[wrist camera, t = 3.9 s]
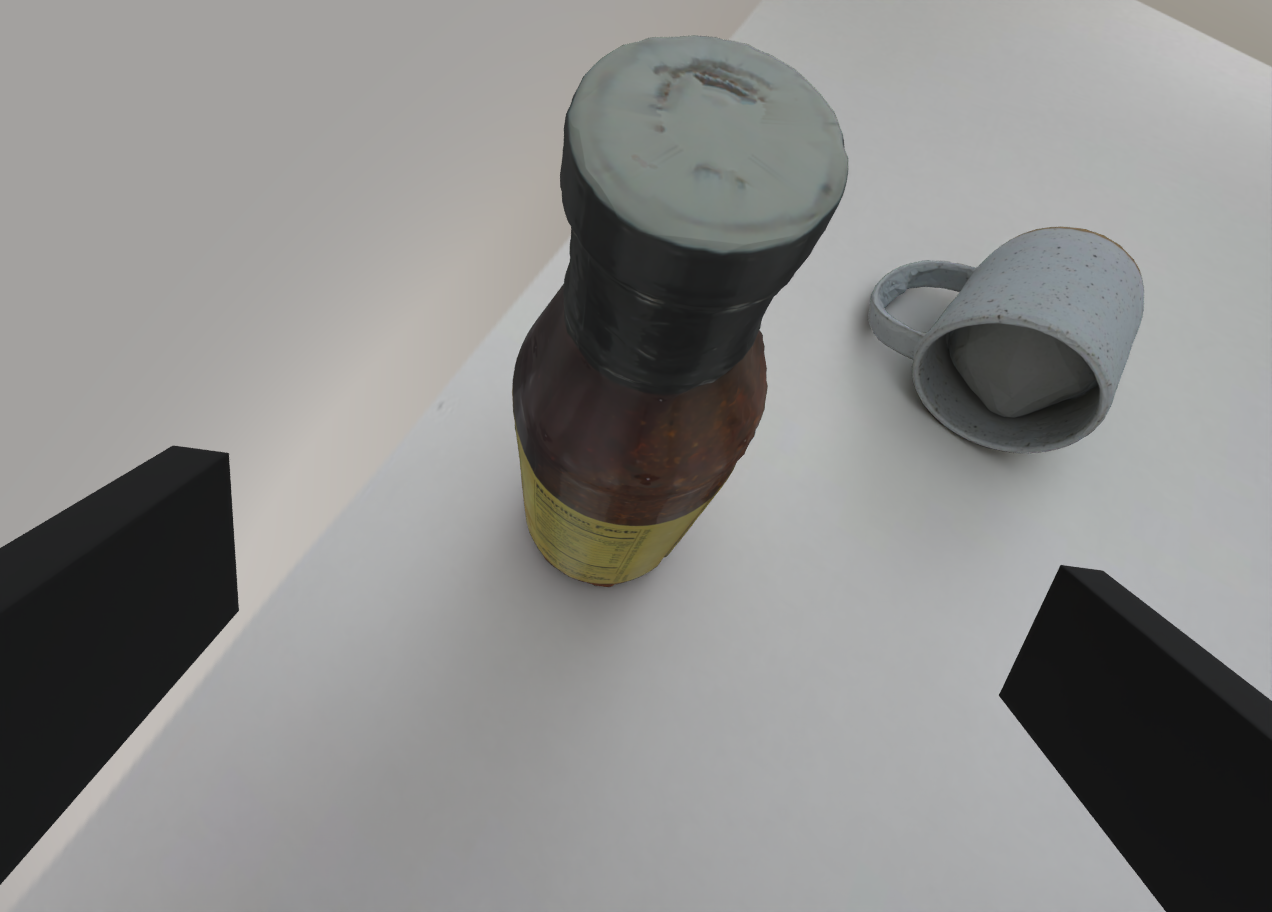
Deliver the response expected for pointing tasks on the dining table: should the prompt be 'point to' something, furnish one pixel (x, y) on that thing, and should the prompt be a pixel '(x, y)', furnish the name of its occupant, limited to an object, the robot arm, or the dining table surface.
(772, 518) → the dining table surface
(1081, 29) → the dining table surface
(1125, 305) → the ceramic mug
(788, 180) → the sauce bottle
